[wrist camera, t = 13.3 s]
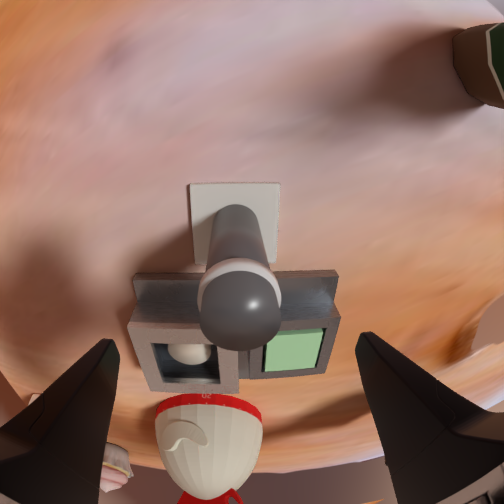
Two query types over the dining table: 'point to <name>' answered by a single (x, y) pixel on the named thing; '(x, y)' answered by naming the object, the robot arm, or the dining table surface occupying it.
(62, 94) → the dining table surface
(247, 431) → the kitchen timer
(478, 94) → the beer bottle
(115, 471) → the cupcake
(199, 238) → the pad
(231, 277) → the gray capped cylinder
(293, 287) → the grey flat framed piece
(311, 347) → the on button
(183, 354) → the button
